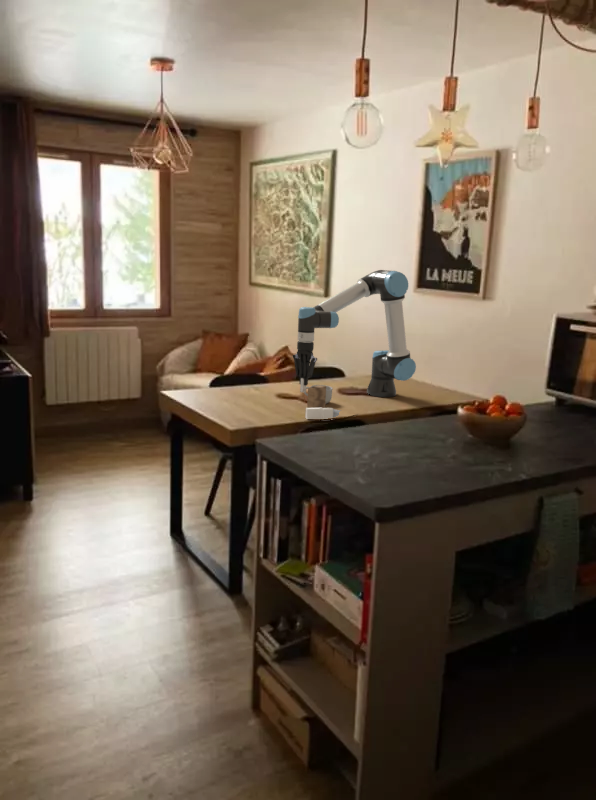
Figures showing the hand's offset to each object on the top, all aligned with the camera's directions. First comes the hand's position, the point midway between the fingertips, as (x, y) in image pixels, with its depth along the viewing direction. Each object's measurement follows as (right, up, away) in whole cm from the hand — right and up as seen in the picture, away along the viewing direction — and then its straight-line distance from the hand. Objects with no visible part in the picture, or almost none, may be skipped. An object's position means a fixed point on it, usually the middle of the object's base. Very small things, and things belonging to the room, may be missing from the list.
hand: (303, 391), depth 315 cm
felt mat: (+14, -10, -10) cm, 20 cm away
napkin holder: (+7, -13, -19) cm, 24 cm away
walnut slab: (+6, -9, -3) cm, 11 cm away
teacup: (+7, -5, +12) cm, 15 cm away
